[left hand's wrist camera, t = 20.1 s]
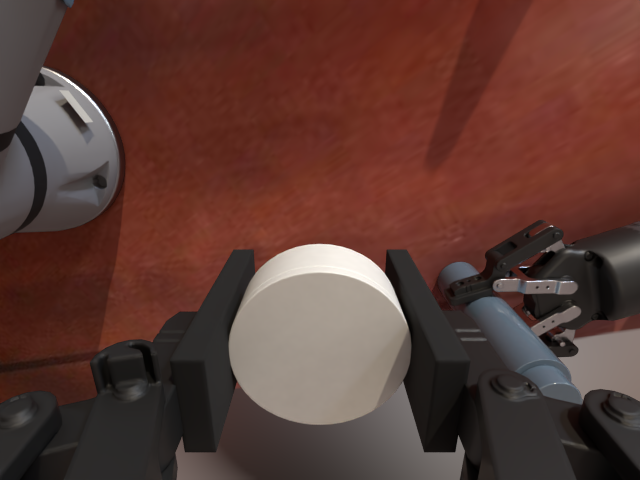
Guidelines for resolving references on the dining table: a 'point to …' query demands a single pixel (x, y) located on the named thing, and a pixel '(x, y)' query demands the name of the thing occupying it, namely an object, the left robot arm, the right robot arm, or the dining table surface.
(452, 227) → the dining table surface
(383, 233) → the dining table surface
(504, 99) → the dining table surface
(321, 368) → the lid
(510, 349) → the grey cylinder
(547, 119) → the dining table surface
